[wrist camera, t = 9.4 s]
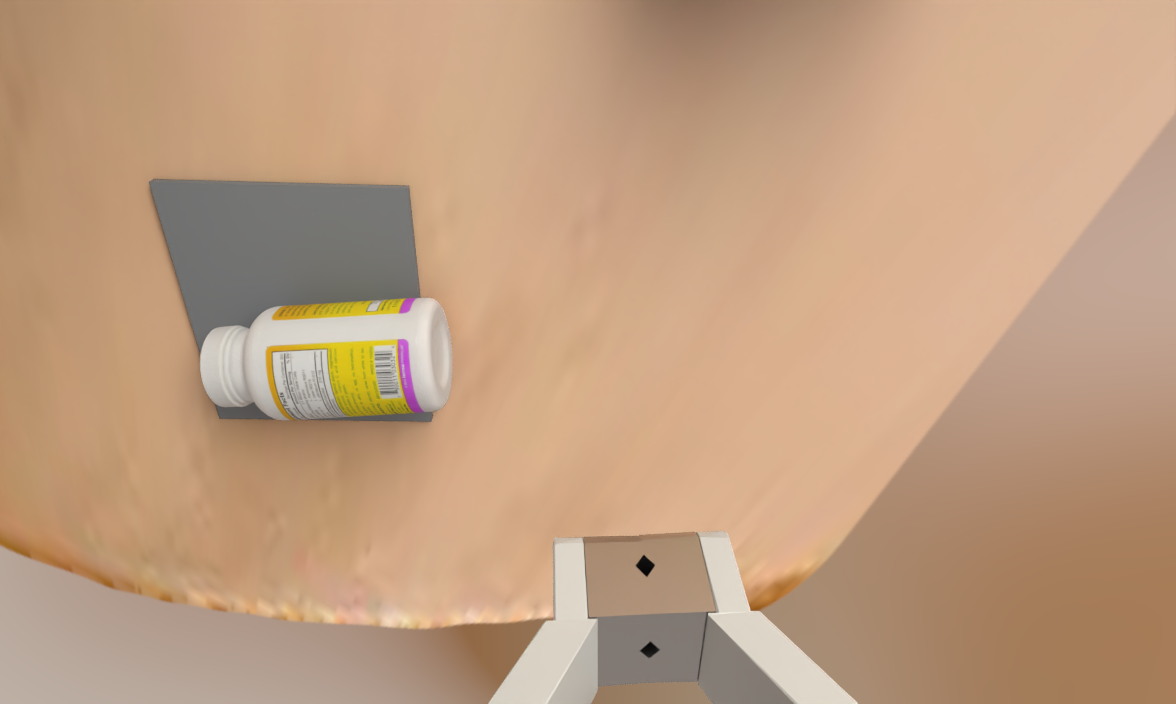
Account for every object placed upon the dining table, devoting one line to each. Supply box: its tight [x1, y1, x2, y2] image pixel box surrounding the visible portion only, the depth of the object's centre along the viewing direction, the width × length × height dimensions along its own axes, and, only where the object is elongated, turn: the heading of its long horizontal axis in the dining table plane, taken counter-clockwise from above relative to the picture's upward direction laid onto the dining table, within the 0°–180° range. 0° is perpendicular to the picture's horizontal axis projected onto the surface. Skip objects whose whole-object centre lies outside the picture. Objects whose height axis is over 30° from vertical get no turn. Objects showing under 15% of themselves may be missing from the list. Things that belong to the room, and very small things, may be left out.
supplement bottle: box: [200, 298, 452, 421], centre depth 40 cm, size 7×7×13 cm
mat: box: [149, 179, 433, 422], centre depth 42 cm, size 14×16×1 cm
